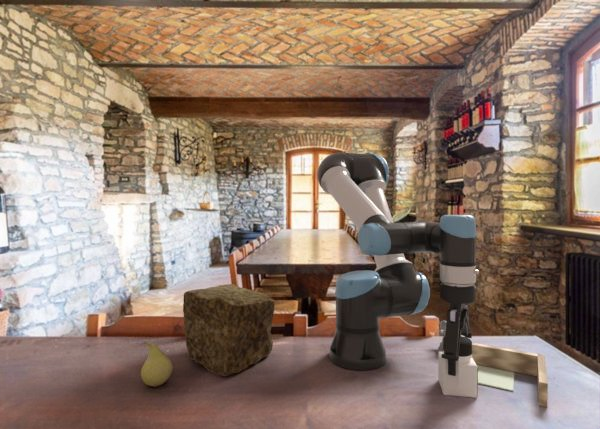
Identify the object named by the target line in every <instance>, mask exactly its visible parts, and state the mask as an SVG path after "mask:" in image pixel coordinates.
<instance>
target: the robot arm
mask: <svg viewBox="0 0 600 429" xmlns="http://www.w3.org/2000/svg"><path fill="white" fill-rule="evenodd" d="M389 173H390V169H389V164H388V163H387V160H386V159H385V158H384V157H383V156H382V155H379V154H378V153H377V154H375V153H370V152H366V153H358V152H357V153H356V152H340V151H339V152H338V151H337V152H334V153H331V154H329V155H327V156H326V157H325V158H324V159H322V161H321V162H320V164H319V165H318V168H317V173H316V176H317V181H318V185H319V186H320V188H321V189H322V191H324V192H325V193H326V194H328V195H331V197H332V198H333V199H334V201H335V202H336V203H337V204H338V206H339V207H340V208H341V209H342V211H343V212H344V213H345V215H346V216H347V217H348V218H349V220H350V221H351V222H352V223H353V225H354V226H355V227H356V229H357V230H358V232H357V242H358V243H357V244H358V245H359V249H360V251H361V252H362V253H363V254H364V255H366V256H367V255H368V256H373V257H374V258H373V259H374V262H375V265H376V268H375V270H372V269H371V270H368V269H367V270H365V269H364V270H361V269H360V270H353V271H348V272H345V273H342V274H341V275H339V277H337V280H336V283H335V291H334V292H335V294H334V295H335V332H334V335H333V338H332V341H331V345H330V347H329V359H330V361H331V362H332V363H333V364H335V365H337V366H338V367H341V368H343V369H348V370H355V371H368V370H374V369H377V368H381V367H382V366H383V365H384V364H385V363H386V362H387V359H386V358H387V352H386V351H387V350H386V348H385V346H384V343H383V339H382V336H381V333H380V319H386V318H393V317H402V316H411V315H414V314H419V313H421V312H423V311H424V310H425V309H426V308H427V305H428V303H429V300H430V295H431V292H430V291H431V290H430V285H429V284H430V282H429V281H428V279H427V277H426V275H424V273H422V272H420V271H417V270H415V267H414V264H413V262H412V261H409V260H408V259H406V257H405V254H420V253H431V254H438V255H440V256H439V257H440V258H439V280H440V282H441V283H440V284H439V298H440V299H441V300H442V301H444V302H446V303H447V302H448V303H449V304H450V305H449V307H448V308H447V310H446V312H445V313H446V321H447V322H446V335H445V347H444V354H442V358H444V359H446V388H448V389H453V390H457V391H459V390H460V359H459V349H460V339H461V335H462V336H465V337H467V338H469V339H472V337H473V334H472V332H471V328H470V320H469V308H468V305H471V304H474V303H475V302H476V301H477V286H476V285H475V283H476V282H477V275H479V274H480V271H479V269H476V268H477V266H476V265H477V236H478V233H477V224H476V222H477V221H476V218H475V217H474V216H473V215H472V214H471V215H470V214H444V215H442V216H441V217H440V218H439V219H440V220H439V222H433V221H428V220H427V221H426V220H418V221H413V222H394V221H393V217H392V214H391V211H390V208H389V205H388V202H387V198H386V195H385V190H386V188H387V185H388V183H389V180H390V175H389ZM451 353H453V354H451Z"/></svg>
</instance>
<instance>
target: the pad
mask: <svg viewBox="0 0 600 429" xmlns="http://www.w3.org/2000/svg"><path fill="white" fill-rule="evenodd" d="M476 365H477V366H478V385H482V386H487V387H491V388H495V389H496V388H497V389H500V390H505V391H508V392H514V386H515V374H516V372H513V371H508V370H503V369H498V368H493V367H488V366H483V365H478V364H476Z"/></svg>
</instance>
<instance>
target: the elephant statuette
mask: <svg viewBox="0 0 600 429" xmlns="http://www.w3.org/2000/svg"><path fill="white" fill-rule="evenodd" d="M446 322H447V320H441V321H440V322H439V328H440V330H439V332H438V334H439V336H441V337H442V339H441V341H440V342H439V346H438V349H437V350H438V353H439V352H443V338H444V337H445V335H446Z"/></svg>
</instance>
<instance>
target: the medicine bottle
mask: <svg viewBox="0 0 600 429" xmlns="http://www.w3.org/2000/svg"><path fill="white" fill-rule="evenodd" d="M442 339H443V352H439V351H438V355H437V356H438V362H437V363H438V365H437V366H438V367H437V368H438V369H437V370H438V371H437V374H438V379H437V380H438V382H439V386H440V389H441V391H442V394H443V395H444V396H452V397H464V398H472V399H473V398H474V399H475V398H476V399H477V398H478V392H479V390H478V389H479V388H478V386H479V384H478V366H477V365H478V364H476V363H475V361H474V360H473V358H472V343H473V341H472V340H471V338H467V337H465V336H462V335H461V339H460V349H459V359H460V390H459V391H457V390H453V389H448V388H446V359H444V358H442V354H444V347H445V337H444V338H443V337H442ZM451 354H453V353H451Z"/></svg>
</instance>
